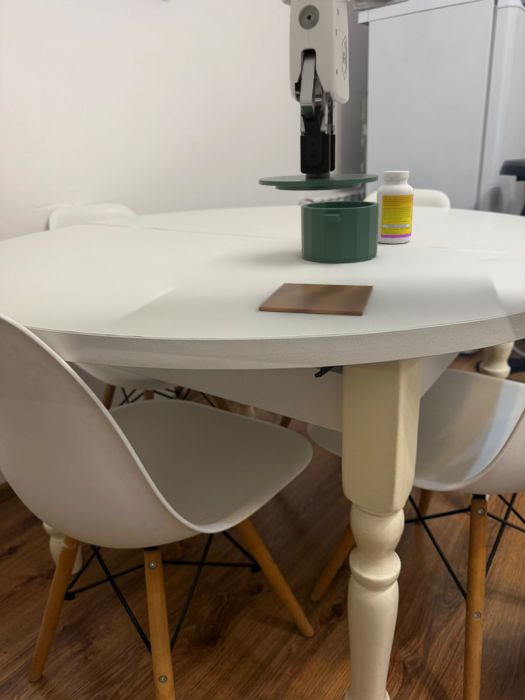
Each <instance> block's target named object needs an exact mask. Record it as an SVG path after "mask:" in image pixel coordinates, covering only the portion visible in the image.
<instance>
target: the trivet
mask: <svg viewBox="0 0 525 700" xmlns="http://www.w3.org/2000/svg"><path fill="white" fill-rule="evenodd" d="M373 291H374V285H362V284H361V285H359V284H357V285H356V284H328V283H327V284H326V283H325V284H324V283H323V284H322V283H299V282H298V283H297V282H295V283H294V282H292V283H291V282H284V283H283V284H282V285H281V286H280V287H278V289H276V290H275V291H274V292H273V293H272V294H271V295H270V296H269V297H268V298H267V299H266V300H265V301H264V302H263V303H261V305H260V306H259V307H258V311H262V312H263V311H264V312H285V313H306V314H326V315H327V314H328V315H346V316H347V315H349V316H363V315H364V312H365V310H366V307H367V305H368V302H369V300H370V297H371V295H372V293H373Z"/></svg>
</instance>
